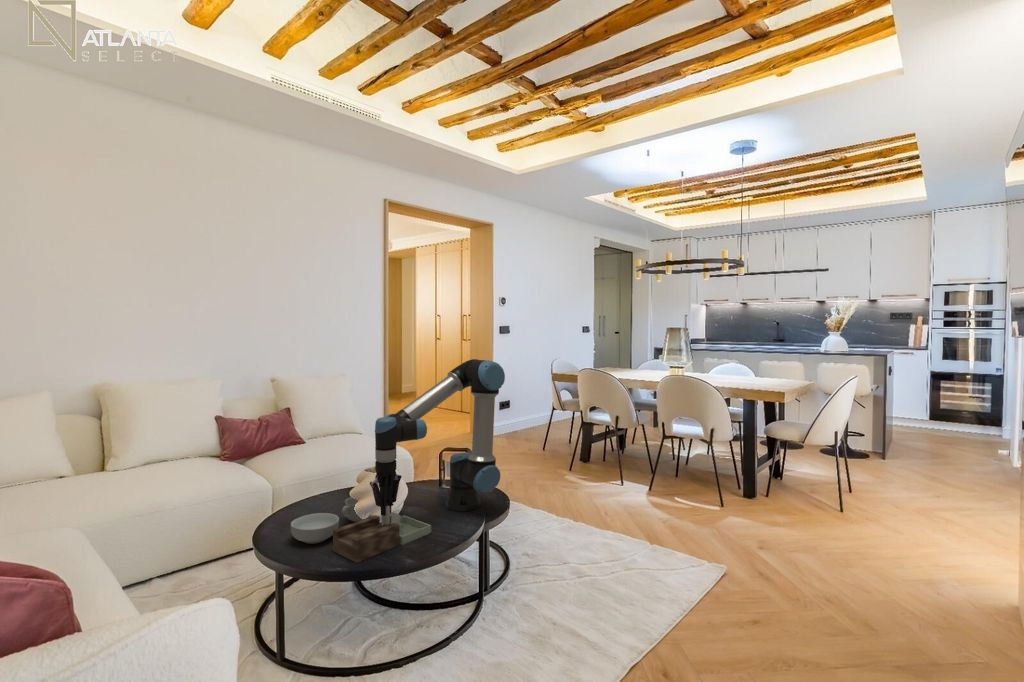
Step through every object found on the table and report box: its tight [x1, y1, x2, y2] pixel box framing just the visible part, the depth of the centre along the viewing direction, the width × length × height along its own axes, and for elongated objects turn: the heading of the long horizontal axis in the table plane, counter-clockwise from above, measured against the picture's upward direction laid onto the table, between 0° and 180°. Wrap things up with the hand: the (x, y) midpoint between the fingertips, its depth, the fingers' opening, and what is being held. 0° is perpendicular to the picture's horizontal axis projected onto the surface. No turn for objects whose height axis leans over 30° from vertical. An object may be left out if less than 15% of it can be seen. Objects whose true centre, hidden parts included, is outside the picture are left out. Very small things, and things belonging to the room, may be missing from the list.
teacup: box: [341, 496, 362, 523], centre depth 209 cm, size 14×11×8 cm
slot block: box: [332, 515, 401, 564], centre depth 184 cm, size 18×14×8 cm
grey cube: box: [399, 523, 404, 535], centre depth 194 cm, size 4×4×4 cm
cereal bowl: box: [290, 512, 340, 545], centre depth 191 cm, size 17×17×7 cm
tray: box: [381, 514, 432, 546], centre depth 197 cm, size 14×16×3 cm
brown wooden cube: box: [384, 512, 401, 526], centre depth 193 cm, size 4×4×4 cm
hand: (386, 523), depth 191 cm, fingers closed
